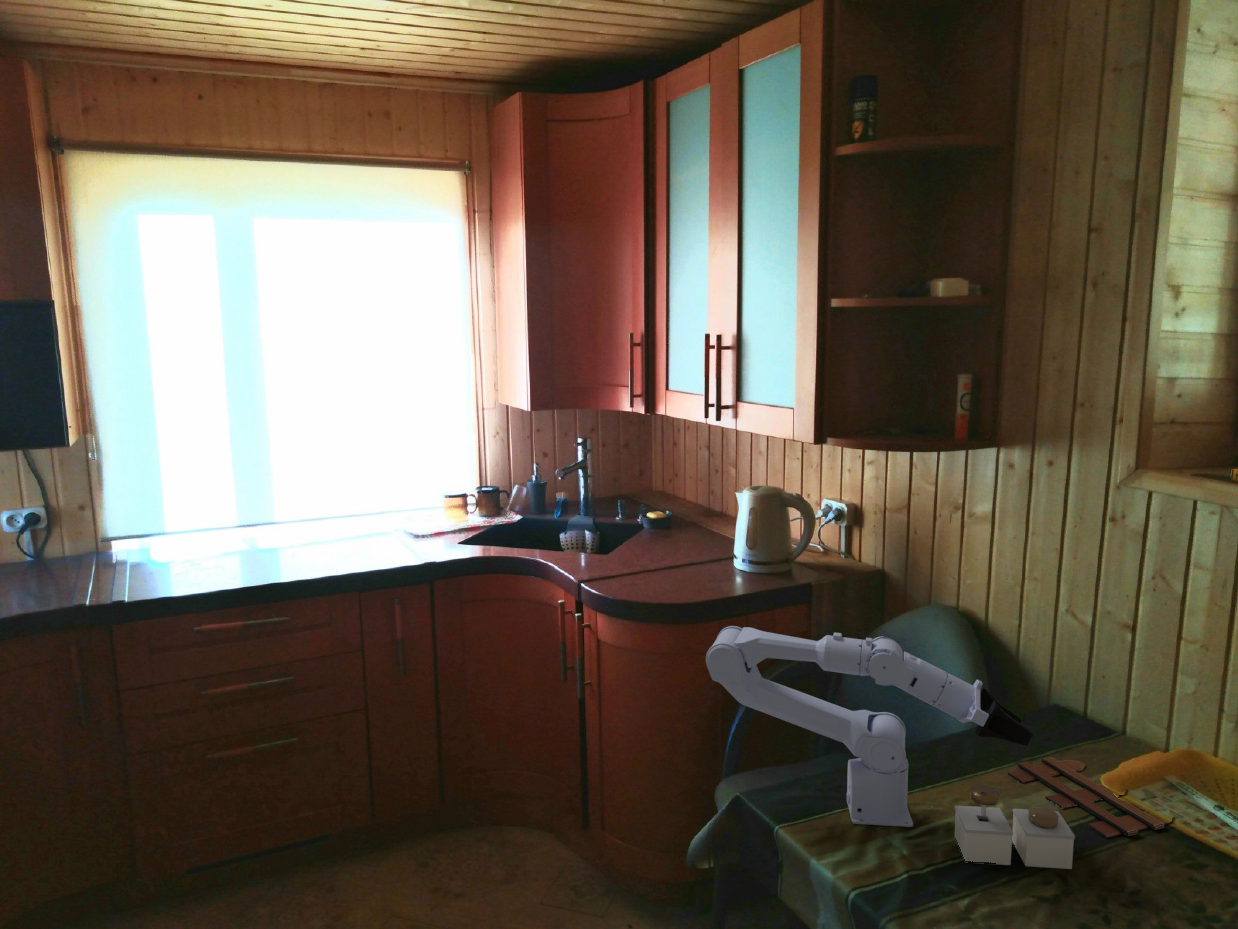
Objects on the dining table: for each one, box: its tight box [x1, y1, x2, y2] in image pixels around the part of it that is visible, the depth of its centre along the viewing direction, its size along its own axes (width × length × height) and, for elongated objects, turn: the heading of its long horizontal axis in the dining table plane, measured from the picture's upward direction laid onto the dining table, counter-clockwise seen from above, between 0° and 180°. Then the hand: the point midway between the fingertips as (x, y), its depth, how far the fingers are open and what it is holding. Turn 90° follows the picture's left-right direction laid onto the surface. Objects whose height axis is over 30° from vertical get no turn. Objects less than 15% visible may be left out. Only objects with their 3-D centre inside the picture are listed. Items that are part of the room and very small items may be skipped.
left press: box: [954, 805, 1013, 866], centre depth 129 cm, size 7×8×5 cm
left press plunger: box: [969, 784, 1000, 822], centre depth 128 cm, size 4×4×6 cm
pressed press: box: [1012, 806, 1076, 870], centre depth 128 cm, size 7×8×7 cm
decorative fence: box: [1007, 756, 1168, 840], centre depth 144 cm, size 23×2×15 cm
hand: (1023, 732), depth 131 cm, fingers open, 7 cm apart
